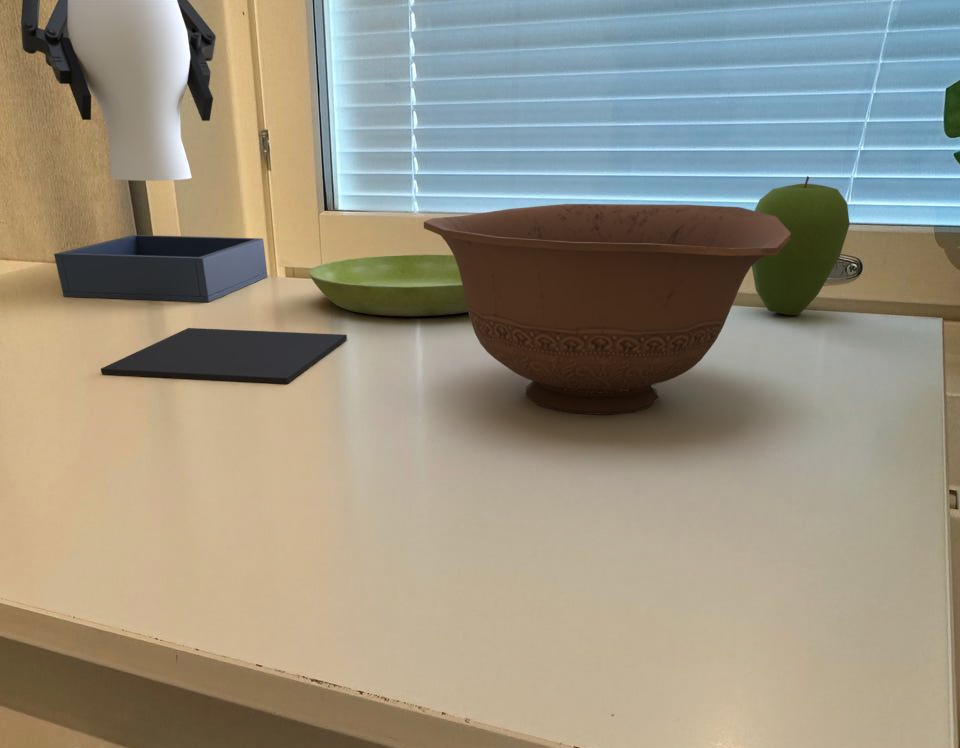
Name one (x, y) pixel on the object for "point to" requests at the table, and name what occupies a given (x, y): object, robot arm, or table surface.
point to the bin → (162, 268)
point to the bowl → (604, 292)
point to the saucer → (394, 285)
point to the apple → (801, 245)
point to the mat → (229, 355)
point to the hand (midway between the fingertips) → (149, 109)
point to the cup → (136, 81)
